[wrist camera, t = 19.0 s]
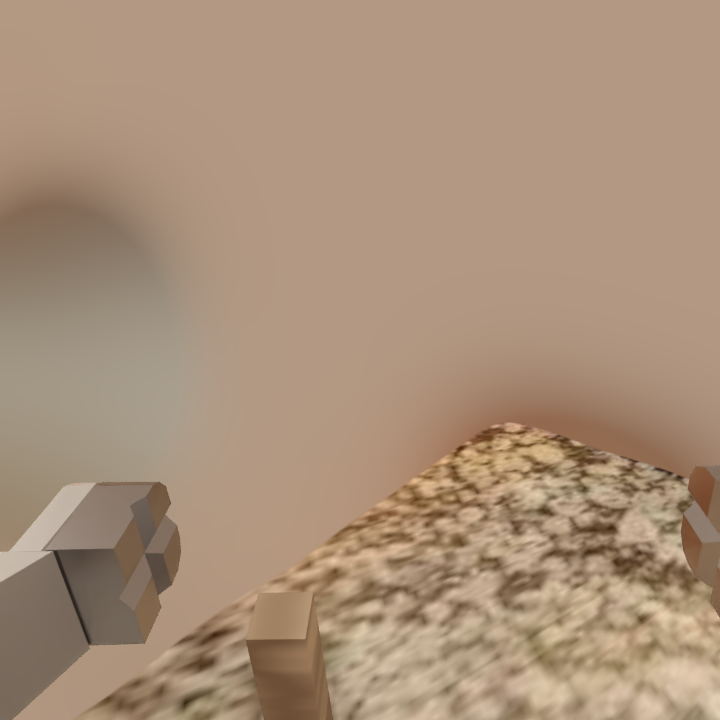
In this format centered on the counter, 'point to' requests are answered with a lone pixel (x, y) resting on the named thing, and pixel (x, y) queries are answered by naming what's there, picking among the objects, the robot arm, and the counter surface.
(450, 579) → the counter surface
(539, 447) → the counter surface
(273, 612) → the stacked wooden blocks
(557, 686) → the counter surface
